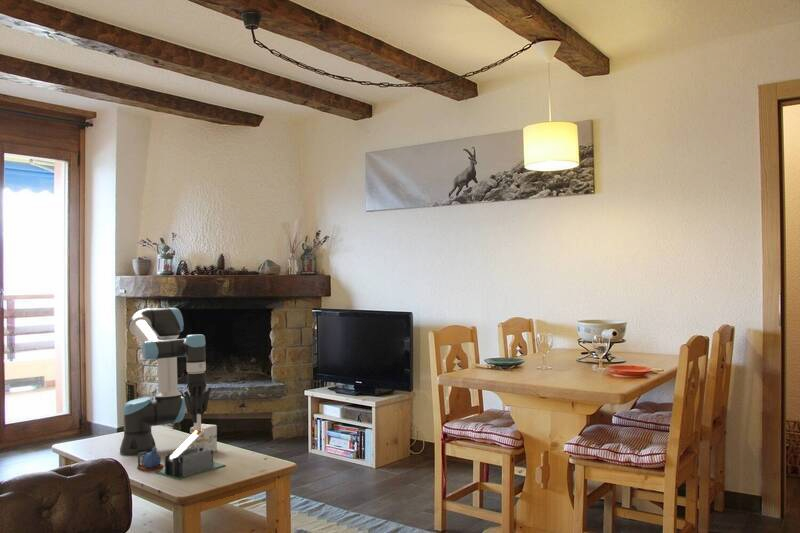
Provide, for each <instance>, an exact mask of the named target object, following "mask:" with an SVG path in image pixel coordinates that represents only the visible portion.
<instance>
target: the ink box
mask: <svg viewBox="0 0 800 533" xmlns="http://www.w3.org/2000/svg"><path fill="white" fill-rule="evenodd" d="M217 428H218V425H217V424H206V423H201V429H202V430H204V433H203V434H202V435H201V436H200V437H199V438H198V439H197V440H196V441H195V442H194V443H193V444H192V445H191V446H190V447H189V448H191V447H198V452H200V451H199V448H203V451H204V450H213V453H214V452H216V451H217V450H218V445H217V442H218V441H217V440H218V437H217V436H218V433H217V432H218V429H217ZM194 431H195V430H194V426H192V427H190V428H189V437H190V436H191V435H192V434H193V432H194Z"/></svg>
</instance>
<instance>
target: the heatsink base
mask: <svg viewBox="0 0 800 533" xmlns="http://www.w3.org/2000/svg"><path fill="white" fill-rule="evenodd" d="M199 451H200V452H198V447H191V448H190V447H189V448H188V449H187V450H186V451H185V452H184V453H183V454H182V455H181V456H180V457H175V458H173V462H169V461H167V459H168V458H169V457H170V456H171V455H172V454H173V453H174V452H175V451H171V452H168V453H166V455H164V468H163V469H160V470H157V471H155V474H157V475H158V474H159V475H160V476H165V477H167V478H173V479H175V480H181V479H186V478H190V477H192V476H195V475H199V474H200V475H201V474H203V473H207V472H210V471H214V470H217V469H220V468H224V467H226V466H227V465H226V464H224V463H220V462H217V461H214V452H213V450H204V451H203V448H199Z"/></svg>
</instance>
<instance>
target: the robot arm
mask: <svg viewBox="0 0 800 533" xmlns="http://www.w3.org/2000/svg"><path fill="white" fill-rule="evenodd" d="M127 326H128V331H129V332H130V333H131V335H133V336H134V337H137V339H138V341H139V342H140V343H141V345H142V346H141V354H142V358H143V359H144V360H157V393H156V394H155V395H154V399H153V400H152V398H151V397H140V398H136V399H135V398H134V399H132V400H129V401H127V402H125V403H124V406H123V413H122V414H123V436H122V440H121V444H120V447H119V454H121V455H124V456H138V453H141V452H145V451H146V452H147V453H148V452H152V449H153V448H154V447H156V446H157V445H156V441H155V439H154V436H153V434H152V427H154V426H163V425H167V424H168V425H170V424H171V425H173V424H176V423H180V422H181V421H183V420H184V417H185V414H186V412H187V414H189V415H191V421H192V423H193V427H194V430H195V431H200V430H201V424H202V422H203V414H205V412H207V410H208V403H209V397H210V393H211V391H212V387H210V386H208V385H207V383H206V381H207V372H205V371H206V370H207V364H206V343H207V342H206V336H205V335H204V334H197V333H196V334H187V335H186V336H185V337H183V338H179V336H180V333H181V332H183V331H184V317H183V314H182V312H181V310H180V309H179V308H177V307H158V308H157V307H156V308H155V307H154V308H142V309H139V310H137V311H136V312H134V313H133V314H132V315H131V316H130V317H129V320H128V324H127ZM182 357H183V358H185V359H186V372H187V374H186V382H187V386H186V389H185V390H182V391H181V392H180V391H179V390H178V386H179V385H178V358H182ZM156 448H157V447H156ZM147 453H146V454H147Z"/></svg>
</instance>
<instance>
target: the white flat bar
mask: <svg viewBox="0 0 800 533" xmlns="http://www.w3.org/2000/svg"><path fill="white" fill-rule="evenodd" d="M203 433H204V430H202V429H201V430H200V431H194V432H193V434H192V435H191V436H190V435H189V437H188V438H187V439H185V441H184V442H183V443H182V444H181V445H180V446H179V447H178V448H177V449H176V450H175V451H173V452H174V453H173V454H172V455H171V456H170V457H169V458H168V459H167V461H169V462H173V458H175V457H180V456H181V455H182V454H183V453H184V452H185V451H186V450H187V449H188V448H190V446H191V445H192V444H193V443H194V442H195V441H196V440H197V439H198V438H199V437H200V436H201V435H202V434H203Z"/></svg>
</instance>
